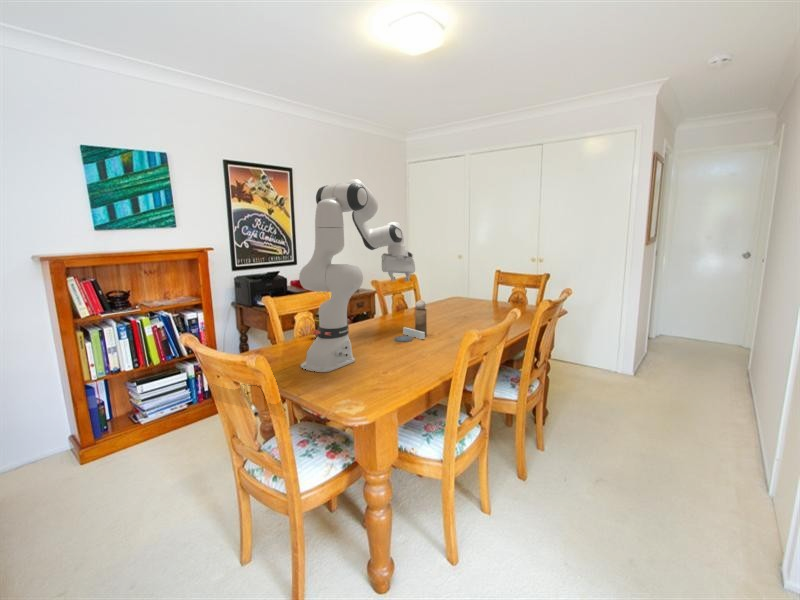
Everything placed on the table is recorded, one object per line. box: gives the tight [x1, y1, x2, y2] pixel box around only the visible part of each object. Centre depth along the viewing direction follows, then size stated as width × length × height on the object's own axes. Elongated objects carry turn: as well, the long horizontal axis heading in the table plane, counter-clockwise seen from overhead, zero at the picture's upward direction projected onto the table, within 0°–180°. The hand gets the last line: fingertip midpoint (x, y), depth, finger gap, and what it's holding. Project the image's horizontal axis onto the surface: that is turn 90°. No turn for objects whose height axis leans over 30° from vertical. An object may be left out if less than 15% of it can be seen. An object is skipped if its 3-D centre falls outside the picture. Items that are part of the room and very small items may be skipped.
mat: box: [393, 335, 414, 343], centre depth 189 cm, size 9×9×1 cm
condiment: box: [314, 312, 320, 338], centre depth 195 cm, size 7×8×12 cm
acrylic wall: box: [402, 326, 426, 340], centre depth 193 cm, size 14×1×4 cm, turn 42°
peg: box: [414, 299, 428, 336], centre depth 194 cm, size 6×6×18 cm
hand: (400, 281), depth 198 cm, fingers open, 8 cm apart
